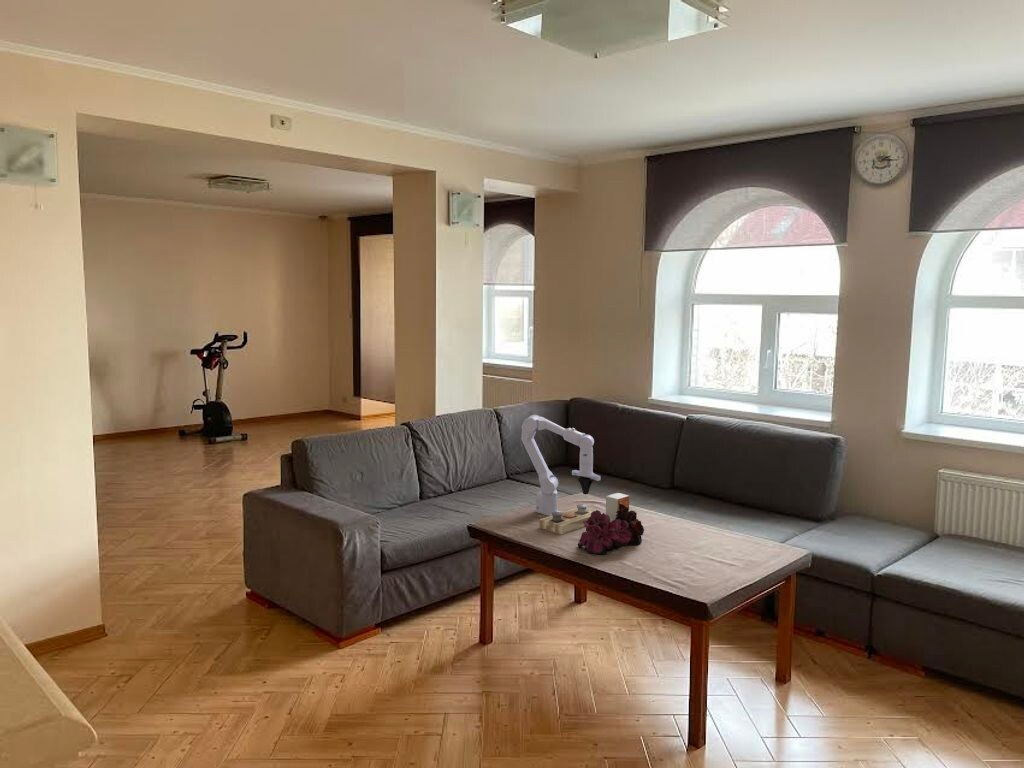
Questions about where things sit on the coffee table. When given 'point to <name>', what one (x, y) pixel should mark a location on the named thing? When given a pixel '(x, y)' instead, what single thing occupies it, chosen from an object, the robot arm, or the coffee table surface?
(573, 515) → the plunger terracotta
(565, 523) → the button board
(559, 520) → the plunger charcoal
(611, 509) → the small box
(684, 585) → the coffee table surface
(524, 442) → the robot arm
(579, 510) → the knob
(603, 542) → the flower arrangement
